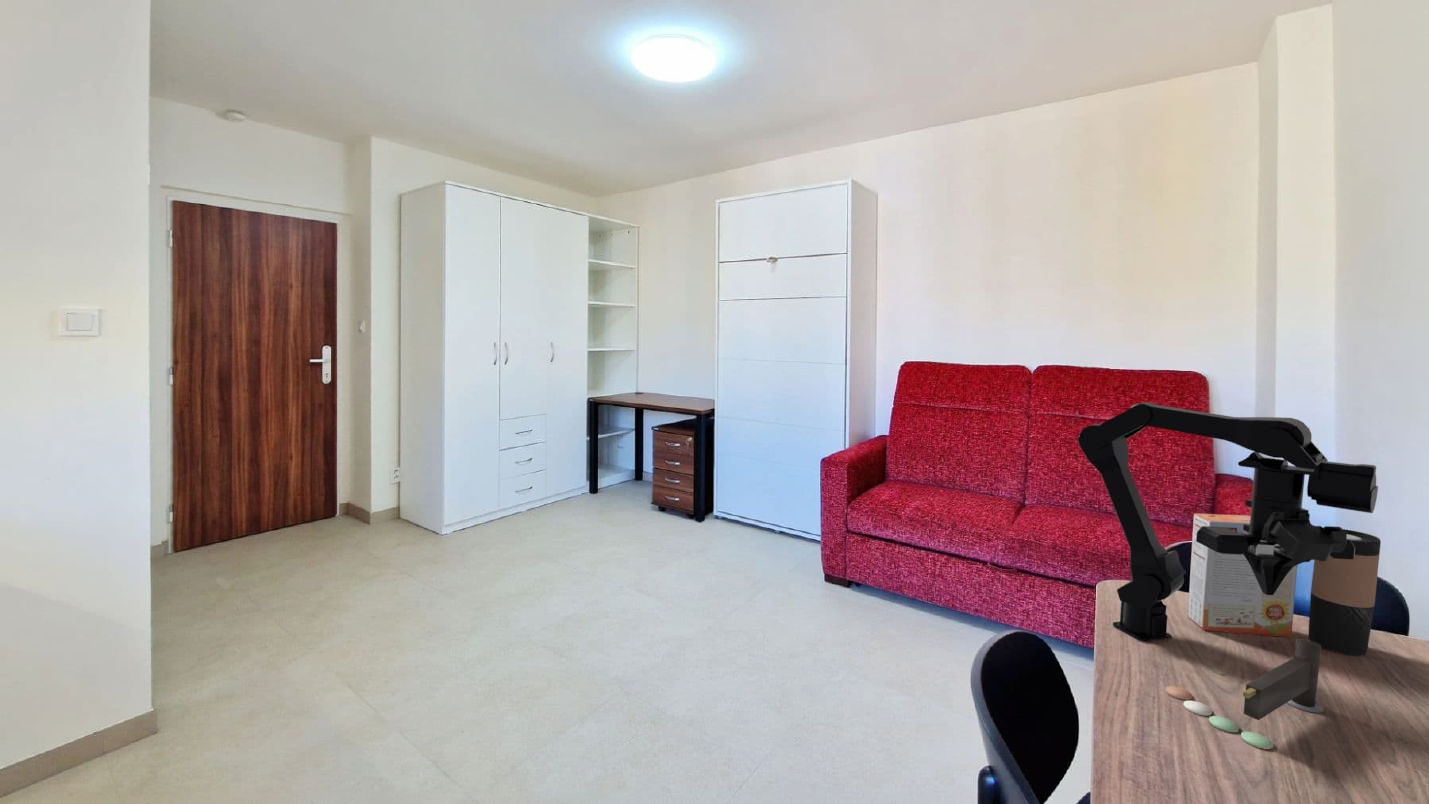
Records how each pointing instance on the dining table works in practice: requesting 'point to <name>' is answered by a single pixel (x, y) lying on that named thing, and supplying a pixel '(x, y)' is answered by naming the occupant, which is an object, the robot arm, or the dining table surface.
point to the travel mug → (1345, 597)
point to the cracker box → (1235, 588)
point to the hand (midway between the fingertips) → (1267, 594)
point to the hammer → (1286, 682)
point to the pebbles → (1227, 724)
